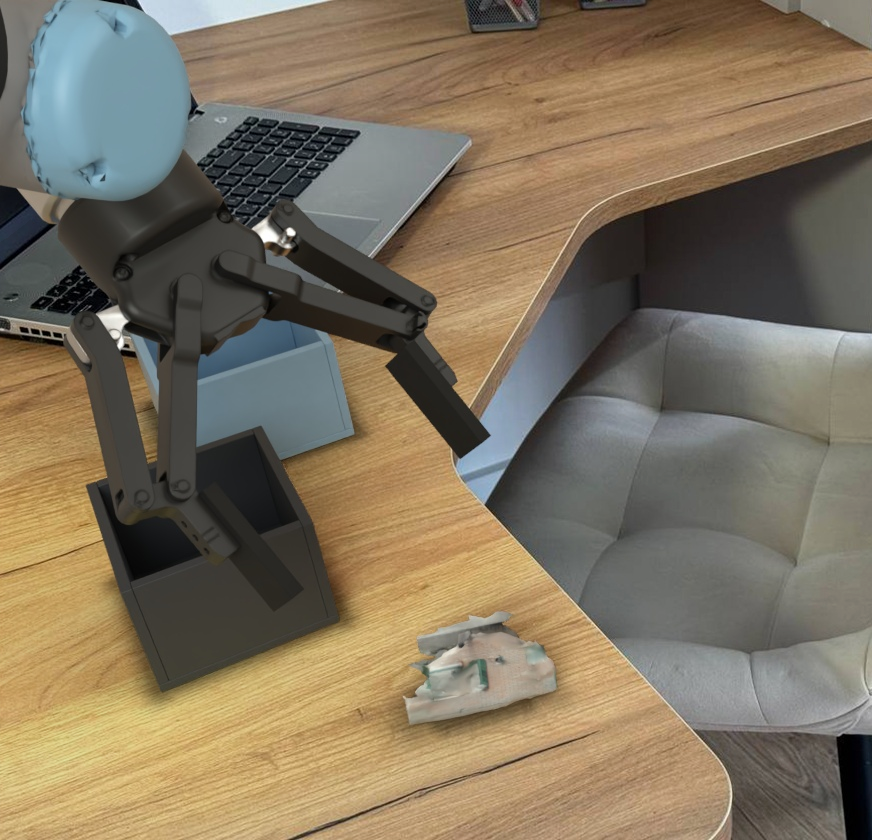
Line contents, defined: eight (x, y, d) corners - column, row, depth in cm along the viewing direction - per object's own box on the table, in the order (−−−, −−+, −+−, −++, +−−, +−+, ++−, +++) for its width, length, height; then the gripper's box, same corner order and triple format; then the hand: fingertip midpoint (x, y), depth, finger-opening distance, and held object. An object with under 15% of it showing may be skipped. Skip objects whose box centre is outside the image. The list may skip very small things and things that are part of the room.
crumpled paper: (561, 700, 69) (549, 607, 65) (411, 738, 68) (388, 645, 64) (544, 643, 73) (531, 551, 68) (401, 678, 71) (378, 586, 67)
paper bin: (191, 492, 85) (158, 397, 80) (154, 405, 93) (122, 315, 88) (355, 434, 89) (333, 341, 84) (306, 356, 97) (283, 267, 92)
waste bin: (161, 693, 71) (120, 593, 67) (124, 581, 79) (85, 484, 74) (340, 621, 75) (313, 521, 70) (289, 521, 82) (261, 424, 78)
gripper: (279, 129, 76) (510, 416, 77) (-128, 337, 60) (173, 693, 62) (325, 56, 70) (573, 369, 71) (-113, 266, 54) (219, 661, 56)
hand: (388, 520), depth 67 cm, fingers open, 13 cm apart
